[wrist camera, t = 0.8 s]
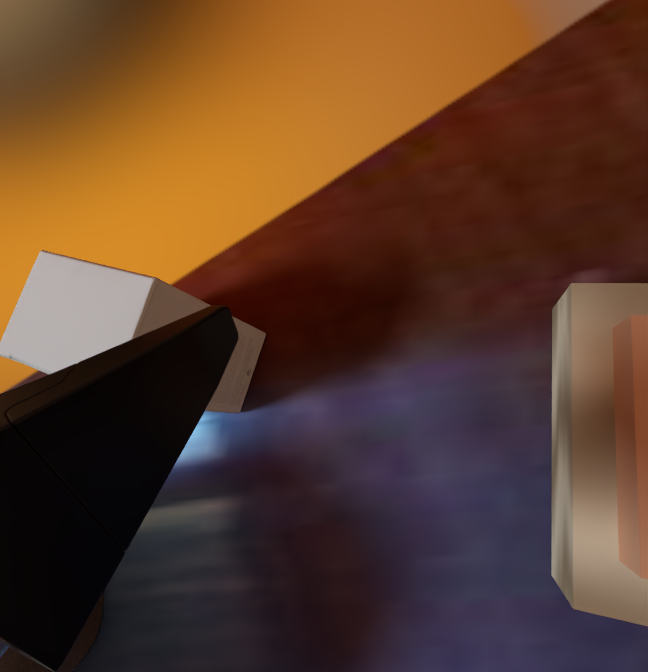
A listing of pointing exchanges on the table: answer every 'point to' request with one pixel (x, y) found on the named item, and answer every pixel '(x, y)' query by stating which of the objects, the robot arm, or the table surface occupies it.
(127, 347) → the robot arm
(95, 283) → the small box
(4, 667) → the plant pot
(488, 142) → the table surface
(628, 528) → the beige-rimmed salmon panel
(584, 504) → the deck
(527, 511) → the table surface
